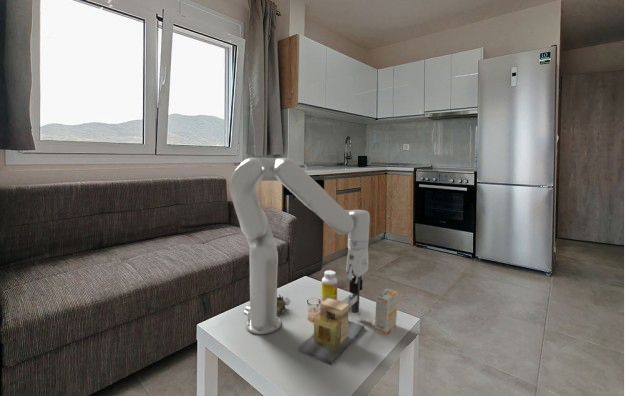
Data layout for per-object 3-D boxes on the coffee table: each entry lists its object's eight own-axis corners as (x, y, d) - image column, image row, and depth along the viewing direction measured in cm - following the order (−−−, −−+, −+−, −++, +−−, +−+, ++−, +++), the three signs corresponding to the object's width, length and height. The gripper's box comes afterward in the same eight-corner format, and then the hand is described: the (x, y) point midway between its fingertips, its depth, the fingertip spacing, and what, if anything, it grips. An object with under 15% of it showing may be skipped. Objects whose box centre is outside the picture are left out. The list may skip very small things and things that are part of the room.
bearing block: (298, 350, 102) (299, 313, 100) (335, 318, 122) (336, 287, 120) (331, 364, 96) (332, 325, 94) (364, 328, 116) (366, 295, 114)
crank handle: (329, 329, 109) (330, 290, 107) (353, 308, 124) (354, 273, 122) (336, 332, 107) (338, 292, 105) (360, 310, 123) (361, 275, 121)
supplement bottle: (335, 306, 132) (336, 276, 130) (319, 304, 133) (320, 274, 132) (337, 298, 139) (338, 270, 137) (322, 297, 140) (323, 268, 138)
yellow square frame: (313, 341, 106) (314, 318, 104) (318, 336, 108) (319, 314, 107) (335, 349, 101) (335, 325, 100) (339, 344, 104) (340, 321, 103)
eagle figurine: (274, 301, 133) (259, 305, 125) (283, 289, 131) (269, 292, 123) (285, 315, 129) (271, 321, 122) (295, 303, 127) (281, 308, 120)
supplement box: (384, 321, 121) (386, 288, 119) (396, 325, 118) (398, 291, 116) (373, 330, 115) (375, 295, 113) (386, 335, 112) (388, 299, 110)
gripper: (357, 250, 109) (355, 301, 112) (376, 240, 123) (373, 286, 126) (338, 246, 113) (336, 296, 116) (358, 237, 127) (356, 281, 130)
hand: (355, 290), depth 121 cm, fingers closed on crank handle, 3 cm apart
